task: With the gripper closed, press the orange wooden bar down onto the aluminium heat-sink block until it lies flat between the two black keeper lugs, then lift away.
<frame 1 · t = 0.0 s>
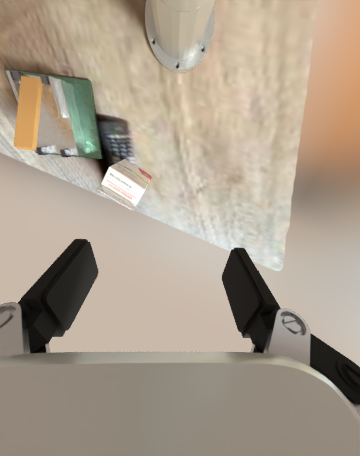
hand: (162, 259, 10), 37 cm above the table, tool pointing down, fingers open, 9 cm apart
ink cartridge box: (135, 174, 43), on the table
orange wooden bar: (28, 113, 27), point 9 cm above the table, hinge at 35.0°
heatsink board: (62, 120, 35), on the table
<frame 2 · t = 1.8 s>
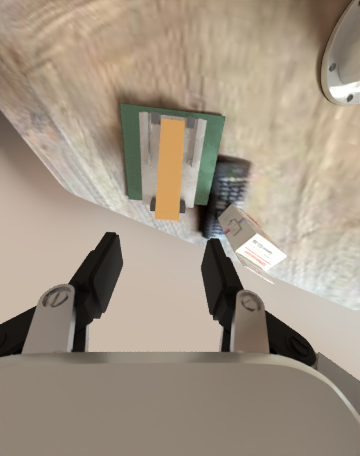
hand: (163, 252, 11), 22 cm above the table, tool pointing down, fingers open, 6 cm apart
ink cartridge box: (236, 219, 35), on the table
orange wooden bar: (170, 170, 19), point 9 cm above the table, hinge at 35.0°
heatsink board: (171, 162, 28), on the table
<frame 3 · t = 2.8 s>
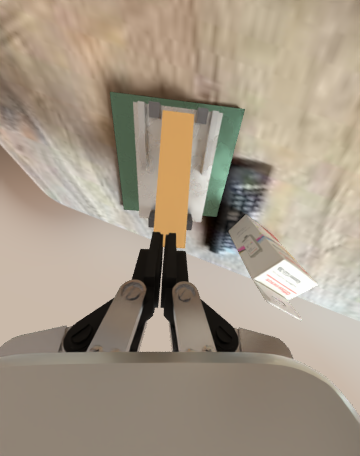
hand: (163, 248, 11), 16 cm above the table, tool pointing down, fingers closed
ink cartridge box: (250, 232, 30), on the table
orange wooden bar: (173, 180, 14), point 9 cm above the table, hinge at 35.0°
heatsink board: (174, 166, 23), on the table
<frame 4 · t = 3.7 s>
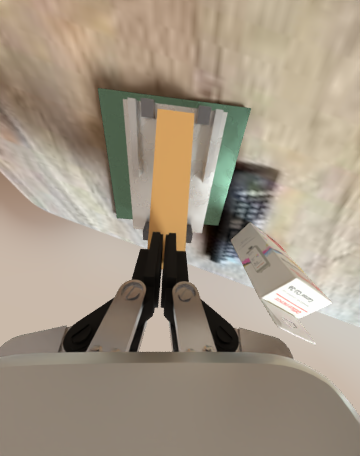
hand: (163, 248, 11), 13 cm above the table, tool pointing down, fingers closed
ink cartridge box: (254, 240, 28), on the table
orange wooden bar: (170, 191, 13), point 9 cm above the table, hinge at 33.8°, touching gripper
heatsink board: (172, 171, 21), on the table
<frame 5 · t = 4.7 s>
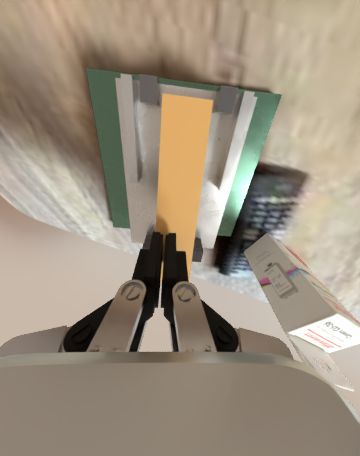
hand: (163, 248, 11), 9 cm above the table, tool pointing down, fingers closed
ink cartridge box: (270, 252, 24), on the table
orange wooden bar: (178, 204, 11), point 8 cm above the table, hinge at 16.4°, touching gripper
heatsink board: (178, 173, 17), on the table
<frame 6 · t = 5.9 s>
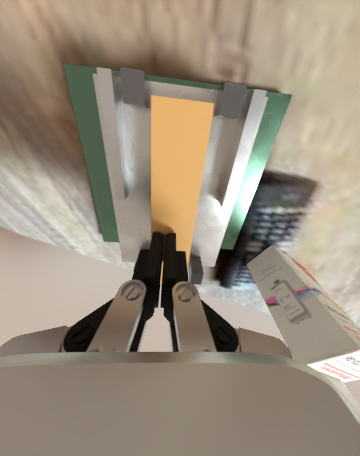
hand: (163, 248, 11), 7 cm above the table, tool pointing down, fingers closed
ink cartridge box: (275, 264, 23), on the table
orange wooden bar: (173, 217, 11), point 6 cm above the table, hinge at 4.0°, touching gripper
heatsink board: (175, 182, 15), on the table
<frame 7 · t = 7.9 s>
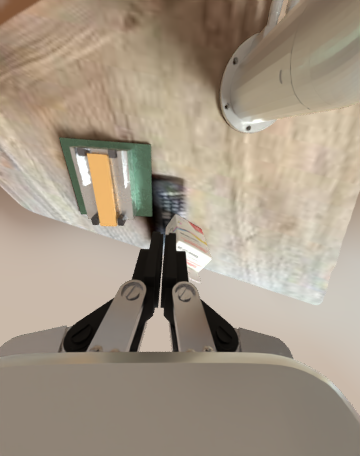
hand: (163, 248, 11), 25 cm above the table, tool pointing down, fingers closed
ink cartridge box: (183, 227, 40), on the table
orange wooden bar: (104, 193, 27), point 6 cm above the table, hinge at 3.7°
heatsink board: (113, 181, 32), on the table
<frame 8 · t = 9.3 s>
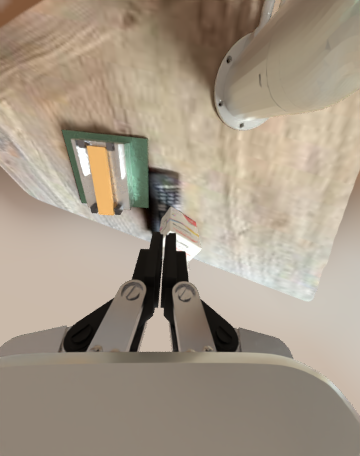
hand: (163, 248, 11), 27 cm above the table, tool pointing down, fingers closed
ink cartridge box: (178, 219, 41), on the table
orange wooden bar: (102, 183, 29), point 6 cm above the table, hinge at 3.7°
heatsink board: (112, 173, 34), on the table
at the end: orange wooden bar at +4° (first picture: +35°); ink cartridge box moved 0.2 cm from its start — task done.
